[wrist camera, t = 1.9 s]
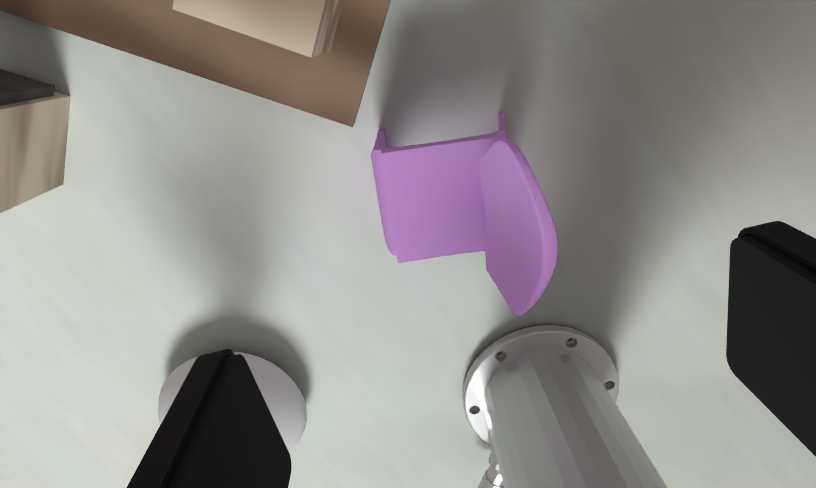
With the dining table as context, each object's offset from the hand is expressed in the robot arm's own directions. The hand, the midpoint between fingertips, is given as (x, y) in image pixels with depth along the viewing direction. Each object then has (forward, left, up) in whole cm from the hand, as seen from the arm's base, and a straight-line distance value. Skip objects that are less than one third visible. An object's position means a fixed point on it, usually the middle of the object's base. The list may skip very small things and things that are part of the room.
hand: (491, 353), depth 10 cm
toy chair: (-2, -2, -26) cm, 26 cm away
